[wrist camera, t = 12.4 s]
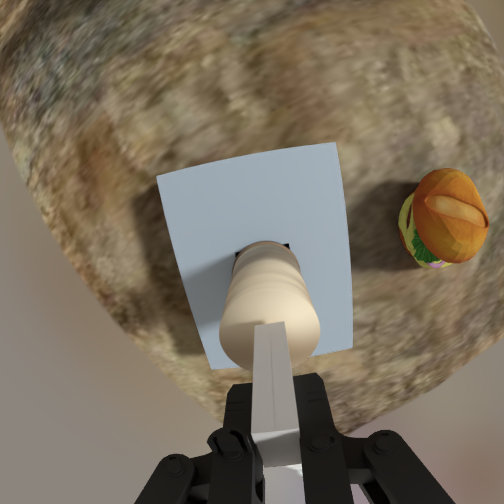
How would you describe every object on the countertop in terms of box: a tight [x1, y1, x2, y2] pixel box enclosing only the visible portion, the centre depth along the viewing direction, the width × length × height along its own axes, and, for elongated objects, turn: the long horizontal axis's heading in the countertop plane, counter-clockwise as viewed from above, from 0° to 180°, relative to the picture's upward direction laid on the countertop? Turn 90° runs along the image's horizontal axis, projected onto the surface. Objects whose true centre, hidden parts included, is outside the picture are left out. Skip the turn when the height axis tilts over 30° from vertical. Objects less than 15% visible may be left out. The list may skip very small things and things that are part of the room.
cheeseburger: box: [398, 168, 489, 268], centre depth 23 cm, size 10×11×10 cm
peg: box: [219, 241, 320, 372], centre depth 21 cm, size 6×6×14 cm
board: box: [156, 142, 353, 369], centre depth 26 cm, size 20×15×5 cm
